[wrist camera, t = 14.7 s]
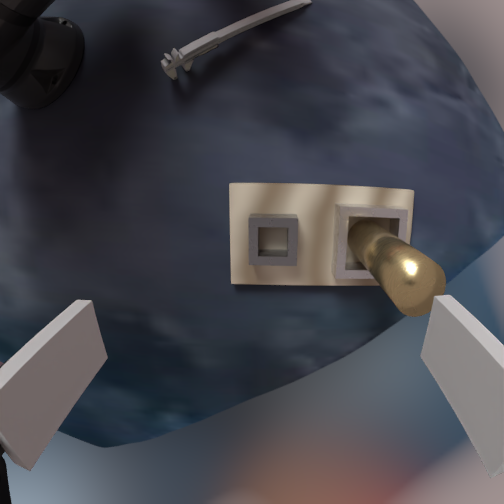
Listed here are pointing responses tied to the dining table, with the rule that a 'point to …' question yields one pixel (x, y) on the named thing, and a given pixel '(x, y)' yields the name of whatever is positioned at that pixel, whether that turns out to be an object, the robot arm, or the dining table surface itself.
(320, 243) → the fitting board
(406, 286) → the brass cylinder
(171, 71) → the caliper
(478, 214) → the dining table surface
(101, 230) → the dining table surface
